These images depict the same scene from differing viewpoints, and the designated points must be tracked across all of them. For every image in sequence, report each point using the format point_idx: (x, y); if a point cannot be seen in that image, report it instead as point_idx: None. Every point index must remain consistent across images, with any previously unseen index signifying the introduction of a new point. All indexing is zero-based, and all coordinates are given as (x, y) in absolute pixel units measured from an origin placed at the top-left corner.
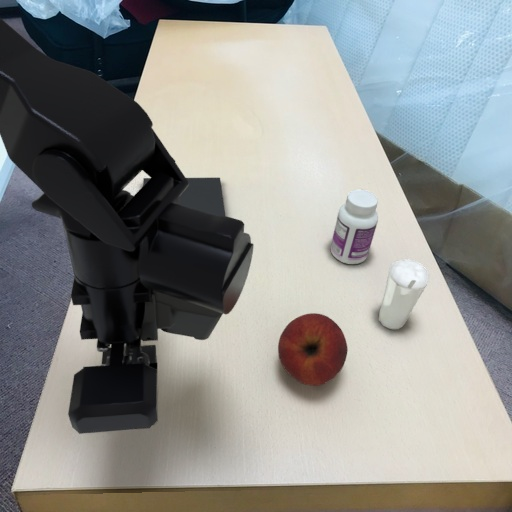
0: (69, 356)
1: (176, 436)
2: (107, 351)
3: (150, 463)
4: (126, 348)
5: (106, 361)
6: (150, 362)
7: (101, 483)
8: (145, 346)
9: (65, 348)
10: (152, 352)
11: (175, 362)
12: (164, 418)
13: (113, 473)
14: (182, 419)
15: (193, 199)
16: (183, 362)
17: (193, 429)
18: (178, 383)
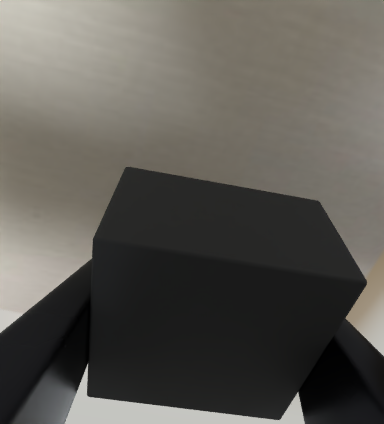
0: (36, 300)
1: (343, 104)
2: (108, 390)
3: (379, 184)
4: (102, 344)
5: (154, 395)
6: (206, 276)
7: (363, 275)
8: (99, 281)
9: (14, 305)
10: (146, 261)
11: (70, 46)
12: (271, 126)
13: (355, 255)
14: (298, 72)
15: None
16: (72, 14)
17: (348, 43)
18: (160, 55)
